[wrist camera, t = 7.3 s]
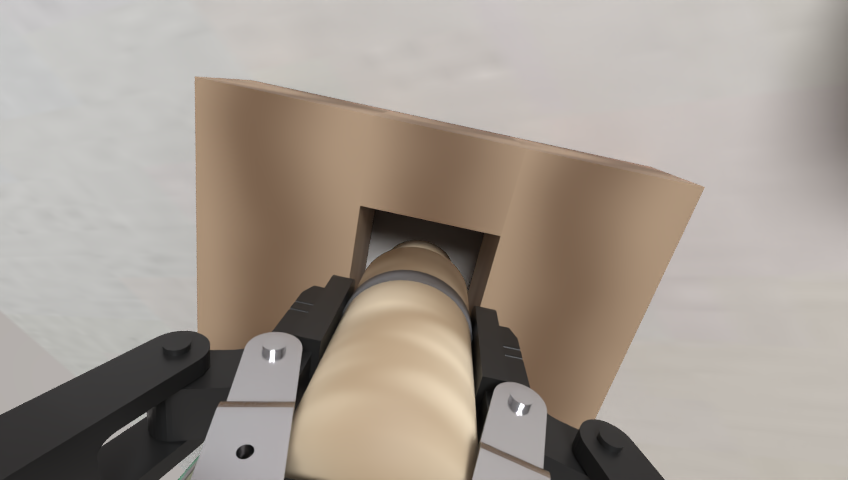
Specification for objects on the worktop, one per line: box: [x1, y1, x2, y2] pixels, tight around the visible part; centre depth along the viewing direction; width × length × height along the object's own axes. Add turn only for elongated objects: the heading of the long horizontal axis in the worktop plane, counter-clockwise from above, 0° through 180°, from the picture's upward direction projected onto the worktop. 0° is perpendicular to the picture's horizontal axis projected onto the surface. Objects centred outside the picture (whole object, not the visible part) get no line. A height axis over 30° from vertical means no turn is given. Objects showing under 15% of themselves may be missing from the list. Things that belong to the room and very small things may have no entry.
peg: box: [285, 240, 478, 480], centre depth 12 cm, size 4×4×10 cm
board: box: [195, 77, 705, 429], centre depth 18 cm, size 18×12×4 cm, turn 79°
